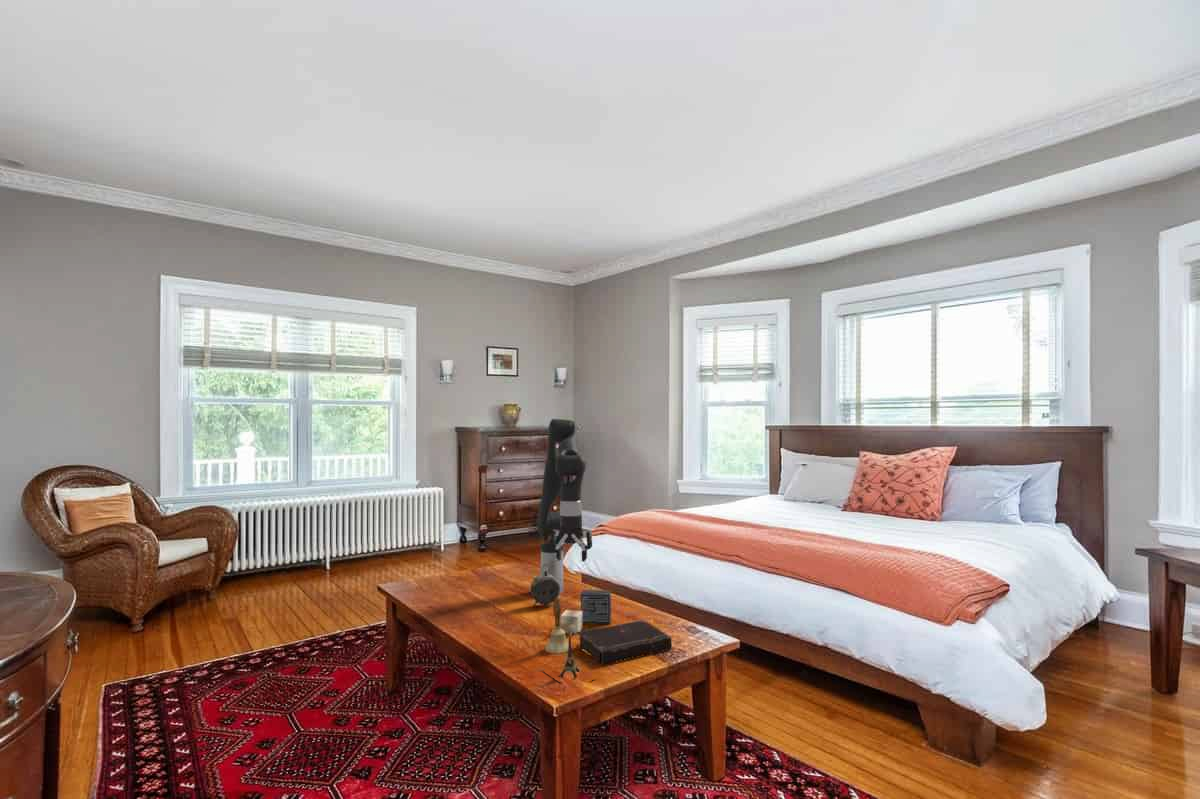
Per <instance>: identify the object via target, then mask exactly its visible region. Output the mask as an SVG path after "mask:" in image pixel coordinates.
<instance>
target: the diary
mask: <svg viewBox="0 0 1200 799" xmlns="http://www.w3.org/2000/svg"><path fill="white" fill-rule="evenodd" d="M576 633H577V634H578V636H579V644H578V645H576V648H578V647H579V646H580V647H579V648H580V649H579V648H578V649H579V650H580V651H582V649H584V650H586V651H587V652H588V653H590V654H591V655H592V656H591V657H593V656H594V657H593V658H594V659H596V660H597V659H598V660H597V661H599V662H602V663H601V666H602V665H603V666H606V665H605V664H607V665H610V664H609V663H611V664H613V663H612V662H615V663H617V662H616V661H619V662H621V661H620V660H623V661H625V660H624V659H628V658H632V657H637V656H641V657H643V656H642V655H645V656H647V654H649V655H651V654H650V653H653V654H655V653H654V652H657V653H659V652H658V651H662V650H666V649H671V650H672V637H671V635H669V634H667V633H665V632H664V631H662V630H660V629H659V628H658V627H657V626H655V625H653V624H652V623H649V622H647V621H645V620H642V619H641V620H636V621H632V622H626V623H621V624H617V625H612V626H604V627H603V626H602V627H594V628H590V629H585V630H581V631H579V632H576ZM577 634H576V635H577ZM666 651H667V650H666ZM662 652H663V651H662ZM637 658H638V657H637ZM632 659H633V658H632ZM628 660H629V659H628Z"/></svg>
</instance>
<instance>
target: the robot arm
mask: <svg viewBox="0 0 1200 799" xmlns="http://www.w3.org/2000/svg"><path fill="white" fill-rule="evenodd" d="M547 432H548V433H547V434H548V435H547V447H546V448H547V449H546V458H545V466H544V472H543V479H542V490H541V491H542V492H541V497H540V504H539V509H538V512H537V513H538V514H537V520H536V530H537V533H538V534H539V535H540V536H548V535H549V536H550V538H549V539H547V540H546V541H544V542H542V543H541V545H540V569H539V575H541V574H545V573H544V572H545V571H548V570H549V566H550V570H549V571H548V572H547V574H550V575H552V576H553V577H555V579H556V580H557V581H558V583H559V585H560V593H559V595H561V594H563V593H564V588H565V587H564V544H565V543H566V544H572V545H573V544H574V545H575V544H577V545H578V547H579V548H580V549H581V562H586V560H587V559H588V550H591V548H593V538H592V537H593V536H592V531H591V529H589V530H583V508H582V507H583V504H582V483H583V479H584V475H585V471H586V468H587V461H586V459H585V457H584V456H583V455H579V450H578V448H577V447H578V426H577V423H576V421H574V420H571V419H561V418H560V419H559V418H552V419H551V420H550V422H549V424H548V431H547ZM556 443H557V444H558V443H559V446H558V447H557V445H556ZM557 448H558V449H557ZM570 476H571V477H574V476H575V477H574V479H573V480H571V481H568V482H567V477H570ZM559 497H560V504H559V507H560V508H559V511H550V510H551V508H552V506H553V504H555V502H556V501H557V500H558V498H559ZM583 535H584V537H585V539H586V544H585V541H584V540H583V538H582V536H583ZM544 564H548V565H549V566H548V565H544ZM543 565H544V566H543ZM542 566H543V568H542ZM541 568H542V569H541ZM542 570H543V572H542Z"/></svg>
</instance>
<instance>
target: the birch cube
mask: <svg viewBox="0 0 1200 799" xmlns="http://www.w3.org/2000/svg"><path fill="white" fill-rule="evenodd" d="M583 625H584V624H583V615H582V611H581V610H573V609H571V610H570V609H566V610H565V611H564V612H563V613H561V615H560V627H561V629H562V630H564V631H565V633H574V634H573V635H577V633H576V632H579V631H580V630H581V629H582V630H583V628H582V627H583ZM582 630H581V631H582ZM575 633H576V634H575Z"/></svg>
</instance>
